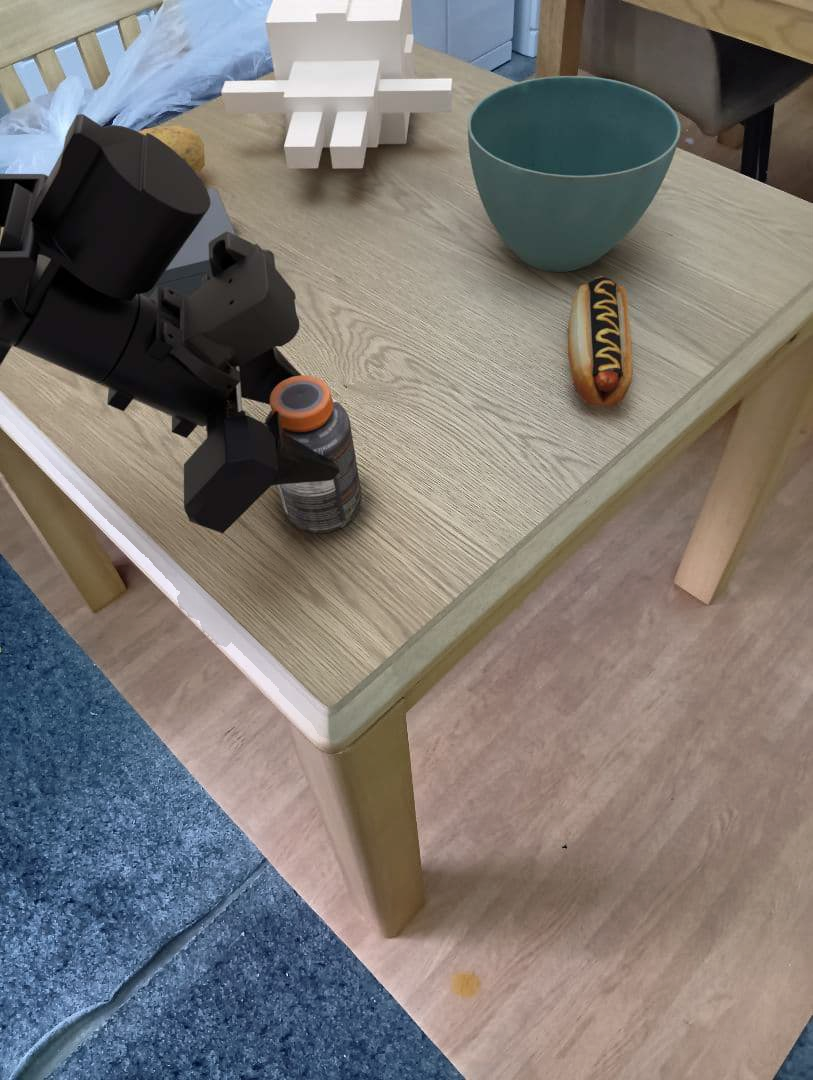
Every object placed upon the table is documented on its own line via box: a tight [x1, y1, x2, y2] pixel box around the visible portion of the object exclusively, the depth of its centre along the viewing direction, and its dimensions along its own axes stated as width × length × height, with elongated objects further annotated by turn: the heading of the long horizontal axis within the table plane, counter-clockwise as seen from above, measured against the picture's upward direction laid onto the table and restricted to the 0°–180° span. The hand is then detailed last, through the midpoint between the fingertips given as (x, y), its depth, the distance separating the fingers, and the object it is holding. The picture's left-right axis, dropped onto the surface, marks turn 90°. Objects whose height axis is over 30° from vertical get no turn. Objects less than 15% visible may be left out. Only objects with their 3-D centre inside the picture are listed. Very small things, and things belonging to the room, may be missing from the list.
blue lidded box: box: [142, 187, 237, 298], centre depth 76 cm, size 14×12×4 cm
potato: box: [137, 125, 206, 176], centre depth 86 cm, size 7×11×6 cm, turn 94°
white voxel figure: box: [220, 0, 453, 169], centre depth 87 cm, size 15×25×28 cm
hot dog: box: [567, 275, 633, 408], centre depth 66 cm, size 5×13×5 cm, turn 174°
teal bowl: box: [467, 75, 682, 273], centre depth 73 cm, size 18×18×12 cm
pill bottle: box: [264, 374, 363, 534], centre depth 55 cm, size 6×6×11 cm
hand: (330, 441), depth 55 cm, fingers closed on pill bottle, 6 cm apart
